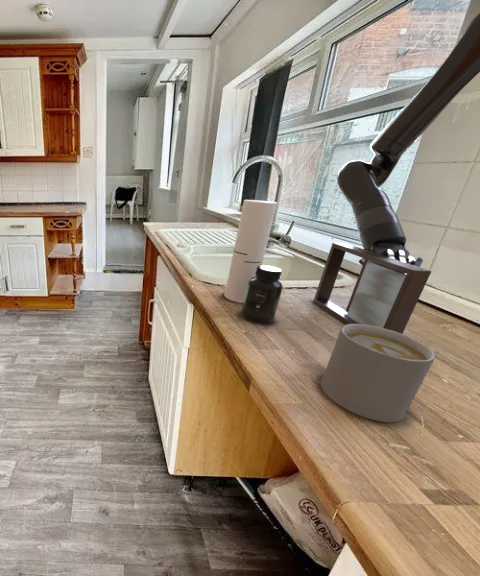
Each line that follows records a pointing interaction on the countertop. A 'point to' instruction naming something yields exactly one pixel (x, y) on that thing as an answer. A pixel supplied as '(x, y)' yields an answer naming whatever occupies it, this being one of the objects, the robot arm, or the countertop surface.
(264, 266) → the supplement bottle
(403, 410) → the coffee mug
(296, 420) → the countertop surface
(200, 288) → the countertop surface
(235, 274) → the cylindrical container
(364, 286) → the window frame
